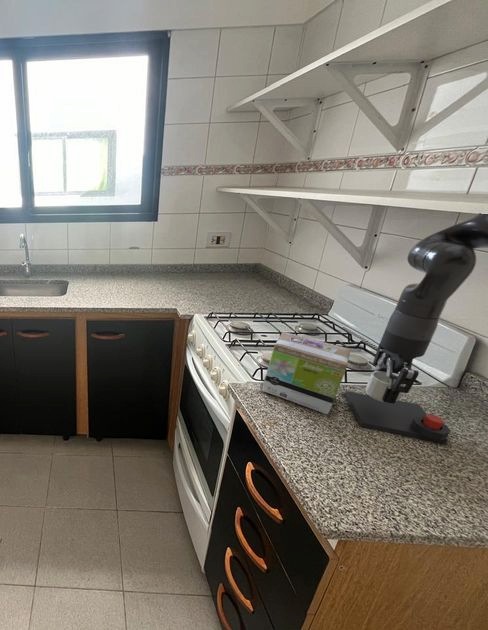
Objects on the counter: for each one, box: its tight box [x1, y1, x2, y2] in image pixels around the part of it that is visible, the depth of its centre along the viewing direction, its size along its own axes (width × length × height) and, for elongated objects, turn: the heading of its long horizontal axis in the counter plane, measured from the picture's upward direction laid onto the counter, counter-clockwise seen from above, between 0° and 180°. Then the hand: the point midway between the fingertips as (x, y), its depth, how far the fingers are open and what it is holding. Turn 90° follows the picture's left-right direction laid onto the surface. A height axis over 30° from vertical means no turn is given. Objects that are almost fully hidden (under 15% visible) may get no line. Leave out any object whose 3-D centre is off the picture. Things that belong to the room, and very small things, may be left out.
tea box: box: [261, 331, 351, 415], centre depth 88 cm, size 15×10×15 cm, turn 50°
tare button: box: [422, 413, 445, 430], centre depth 76 cm, size 3×3×2 cm
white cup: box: [365, 370, 405, 403], centre depth 82 cm, size 6×6×5 cm
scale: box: [343, 390, 451, 445], centre depth 82 cm, size 15×14×3 cm
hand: (382, 393), depth 83 cm, fingers closed on white cup, 6 cm apart
